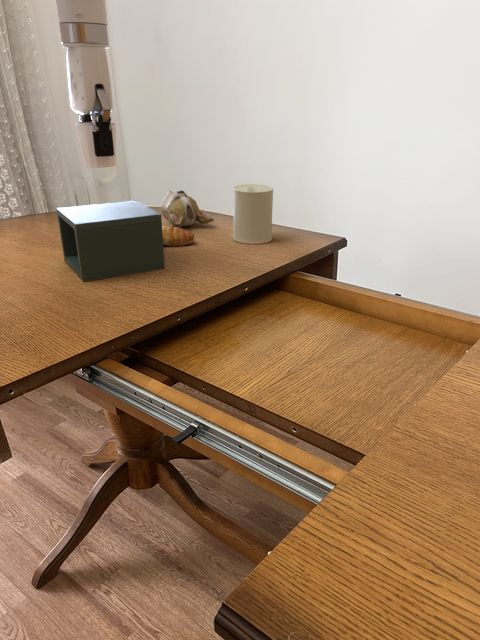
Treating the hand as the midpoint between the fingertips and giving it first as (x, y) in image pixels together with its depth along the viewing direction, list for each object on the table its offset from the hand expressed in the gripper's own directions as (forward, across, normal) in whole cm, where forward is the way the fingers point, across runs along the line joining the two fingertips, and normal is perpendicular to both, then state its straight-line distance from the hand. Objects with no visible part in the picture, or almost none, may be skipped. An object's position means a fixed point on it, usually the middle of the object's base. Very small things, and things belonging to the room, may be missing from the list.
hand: (98, 152), depth 96 cm
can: (+22, -5, +35) cm, 42 cm away
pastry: (+22, -11, +17) cm, 30 cm away
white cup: (+2, 0, 0) cm, 2 cm away
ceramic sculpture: (+22, -24, +26) cm, 42 cm away
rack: (+22, -2, +1) cm, 22 cm away
